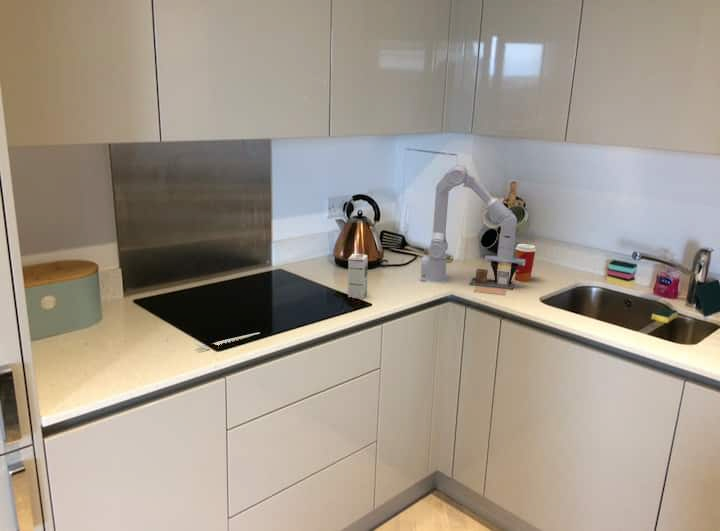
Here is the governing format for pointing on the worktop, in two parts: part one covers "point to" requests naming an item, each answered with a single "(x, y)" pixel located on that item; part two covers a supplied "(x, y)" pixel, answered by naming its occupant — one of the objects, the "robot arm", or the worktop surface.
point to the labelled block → (503, 278)
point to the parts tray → (491, 284)
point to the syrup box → (357, 275)
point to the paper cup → (528, 254)
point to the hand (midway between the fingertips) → (502, 281)
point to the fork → (227, 340)
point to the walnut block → (481, 276)
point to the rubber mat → (490, 290)
